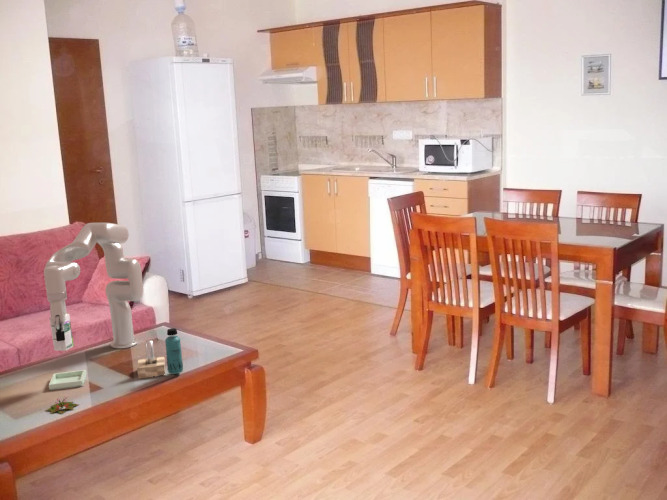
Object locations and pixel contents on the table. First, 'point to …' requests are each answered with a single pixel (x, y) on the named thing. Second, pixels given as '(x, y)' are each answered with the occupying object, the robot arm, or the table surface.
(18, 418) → the table surface
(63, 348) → the syrup box
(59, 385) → the tray
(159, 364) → the bore block
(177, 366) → the beverage bottle
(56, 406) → the lily flower
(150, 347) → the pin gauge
